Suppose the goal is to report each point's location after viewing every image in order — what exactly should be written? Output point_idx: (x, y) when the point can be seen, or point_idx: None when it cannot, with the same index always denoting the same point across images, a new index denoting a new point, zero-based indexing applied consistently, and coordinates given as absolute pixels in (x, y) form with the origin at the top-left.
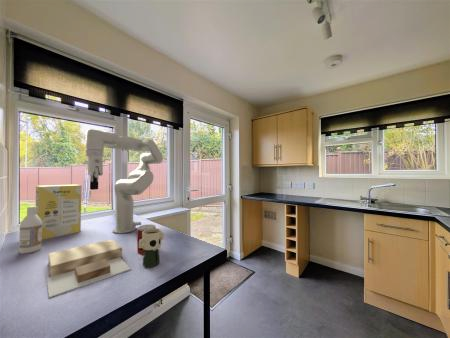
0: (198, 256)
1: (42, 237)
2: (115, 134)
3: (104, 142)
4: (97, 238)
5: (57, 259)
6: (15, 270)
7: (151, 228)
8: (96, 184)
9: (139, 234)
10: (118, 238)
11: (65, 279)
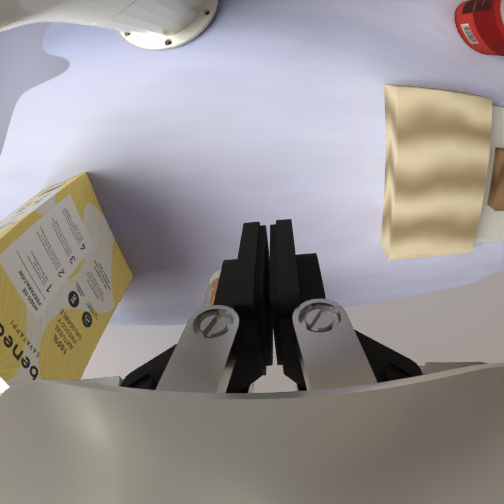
0: None
1: (126, 271)
2: None
3: None
4: (221, 109)
5: (449, 242)
6: (365, 292)
7: None
8: (322, 282)
9: None
10: (281, 37)
11: (490, 219)
